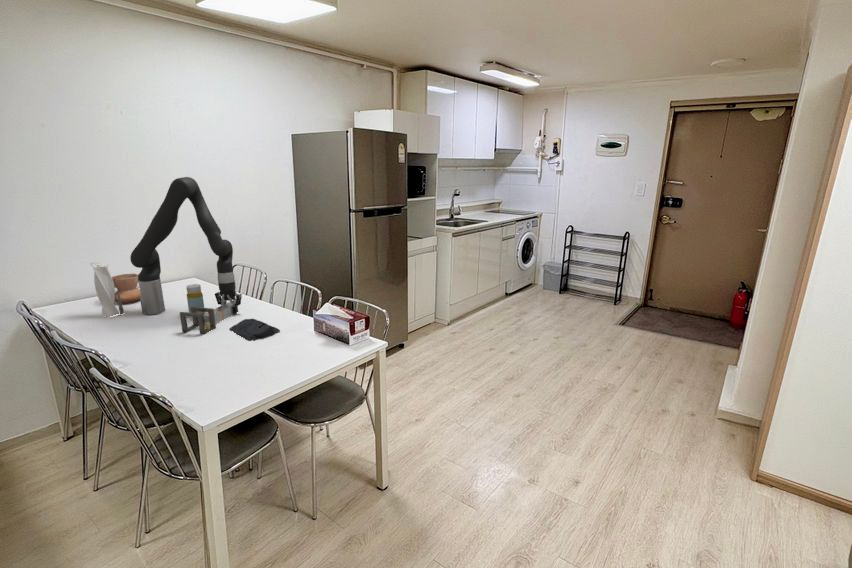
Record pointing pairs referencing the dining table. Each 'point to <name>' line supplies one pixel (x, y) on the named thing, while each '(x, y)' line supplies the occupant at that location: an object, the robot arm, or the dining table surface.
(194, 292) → the bottle
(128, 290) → the ceramic jug
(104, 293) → the skyscraper
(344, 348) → the dining table surface
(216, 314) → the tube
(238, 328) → the dark slate chunk
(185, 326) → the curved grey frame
